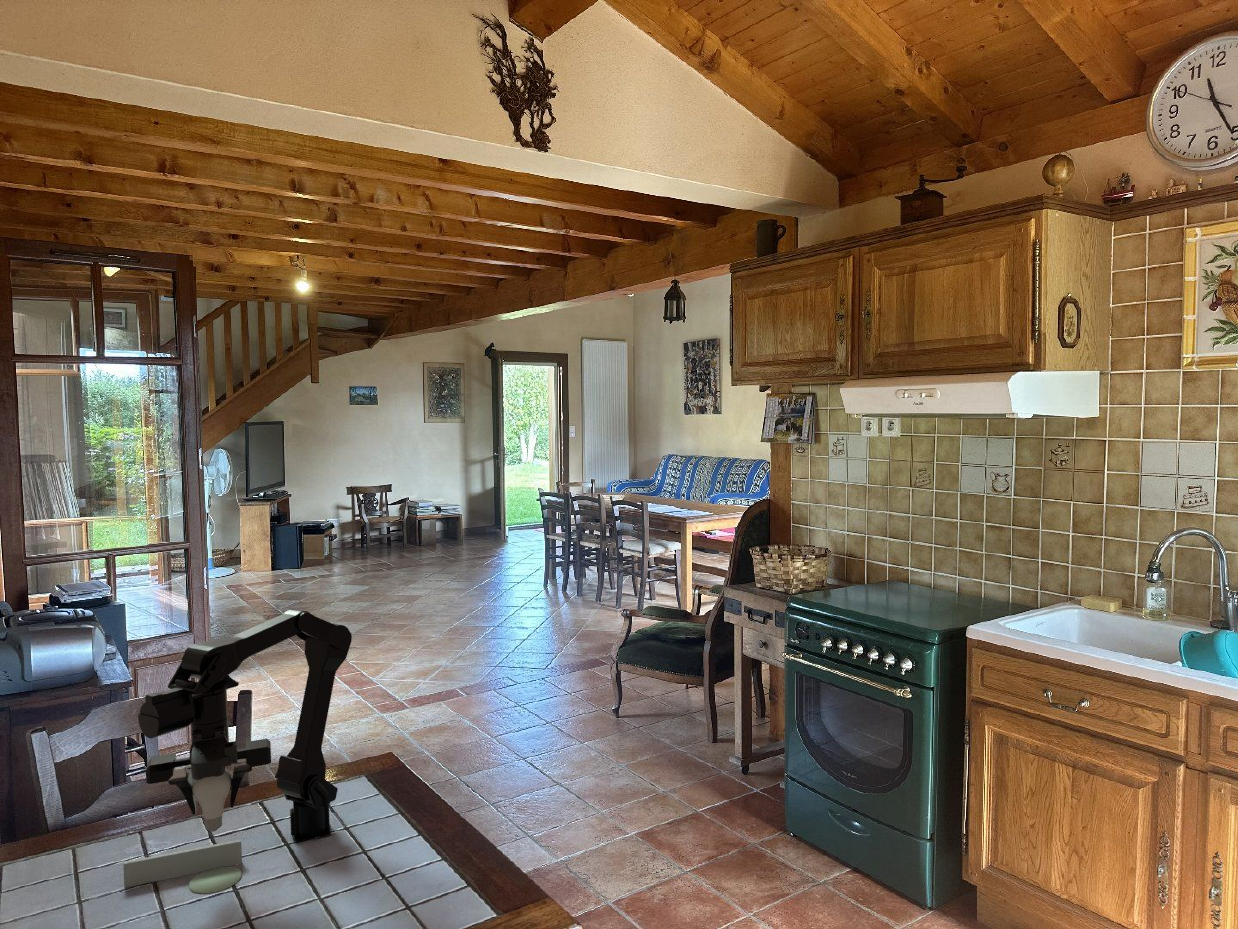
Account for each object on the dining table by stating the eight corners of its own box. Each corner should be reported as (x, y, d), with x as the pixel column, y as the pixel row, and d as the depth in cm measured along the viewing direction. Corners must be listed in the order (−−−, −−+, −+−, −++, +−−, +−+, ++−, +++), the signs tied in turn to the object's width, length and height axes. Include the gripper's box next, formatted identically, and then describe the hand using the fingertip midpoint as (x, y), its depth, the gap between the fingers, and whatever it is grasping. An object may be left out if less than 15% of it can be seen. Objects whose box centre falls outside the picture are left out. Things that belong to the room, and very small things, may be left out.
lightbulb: (217, 841, 138) (215, 775, 138) (185, 838, 140) (182, 773, 139) (241, 824, 144) (239, 760, 144) (210, 821, 146) (207, 759, 145)
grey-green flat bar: (242, 861, 149) (241, 839, 148) (241, 863, 148) (241, 841, 148) (125, 885, 141) (124, 862, 141) (124, 887, 141) (123, 864, 141)
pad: (241, 864, 148) (241, 863, 148) (240, 886, 140) (240, 884, 140) (190, 875, 144) (190, 873, 144) (187, 898, 137) (187, 896, 137)
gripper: (139, 744, 130) (144, 843, 131) (269, 725, 138) (273, 818, 138) (148, 722, 141) (152, 814, 141) (268, 705, 148) (272, 792, 148)
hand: (213, 810), depth 142 cm, fingers closed on lightbulb, 5 cm apart
